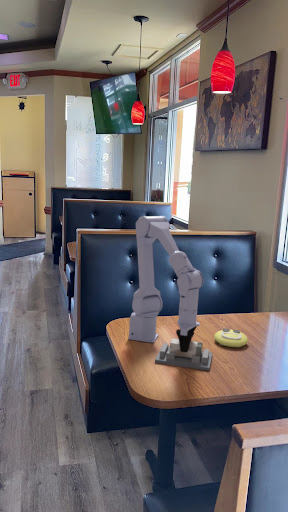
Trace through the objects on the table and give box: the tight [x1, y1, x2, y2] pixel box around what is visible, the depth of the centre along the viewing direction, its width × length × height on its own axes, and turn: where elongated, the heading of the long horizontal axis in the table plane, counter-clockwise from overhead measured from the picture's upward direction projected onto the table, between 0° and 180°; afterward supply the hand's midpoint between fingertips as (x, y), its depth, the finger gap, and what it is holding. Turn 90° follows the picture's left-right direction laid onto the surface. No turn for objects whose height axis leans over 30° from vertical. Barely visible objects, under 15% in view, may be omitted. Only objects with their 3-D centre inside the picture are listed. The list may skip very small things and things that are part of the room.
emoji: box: [213, 328, 249, 348], centre depth 152 cm, size 4×12×12 cm
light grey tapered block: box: [169, 337, 204, 359], centre depth 135 cm, size 10×4×4 cm, turn 76°
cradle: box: [154, 342, 213, 372], centre depth 136 cm, size 17×12×3 cm
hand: (185, 349), depth 136 cm, fingers closed on light grey tapered block, 4 cm apart
